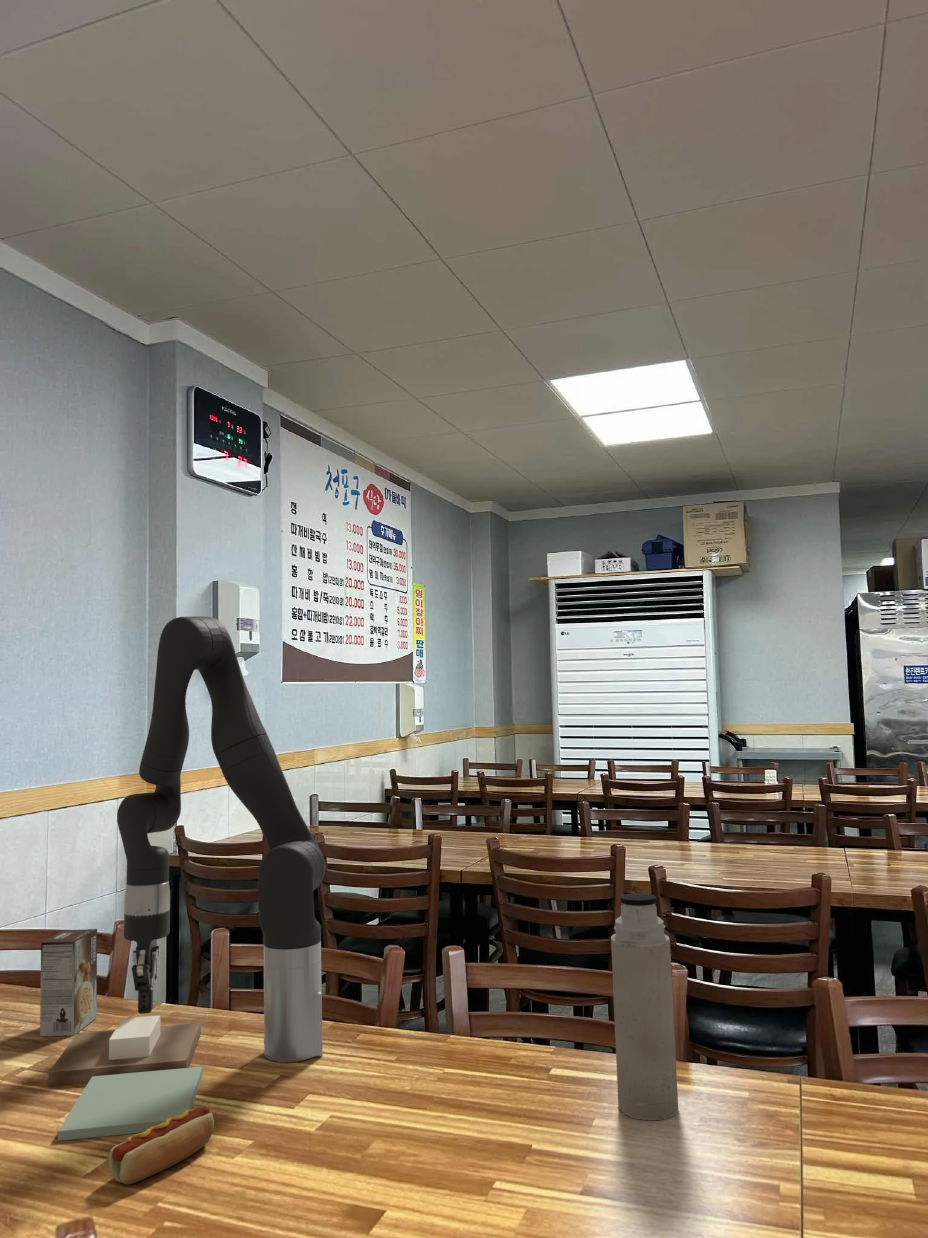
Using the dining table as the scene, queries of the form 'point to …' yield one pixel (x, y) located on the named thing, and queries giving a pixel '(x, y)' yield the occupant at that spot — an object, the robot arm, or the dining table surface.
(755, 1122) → the dining table surface
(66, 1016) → the coffee box
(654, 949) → the thermos bottle
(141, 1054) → the white rectangular block
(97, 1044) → the plate
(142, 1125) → the mat
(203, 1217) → the dining table surface
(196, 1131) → the food
